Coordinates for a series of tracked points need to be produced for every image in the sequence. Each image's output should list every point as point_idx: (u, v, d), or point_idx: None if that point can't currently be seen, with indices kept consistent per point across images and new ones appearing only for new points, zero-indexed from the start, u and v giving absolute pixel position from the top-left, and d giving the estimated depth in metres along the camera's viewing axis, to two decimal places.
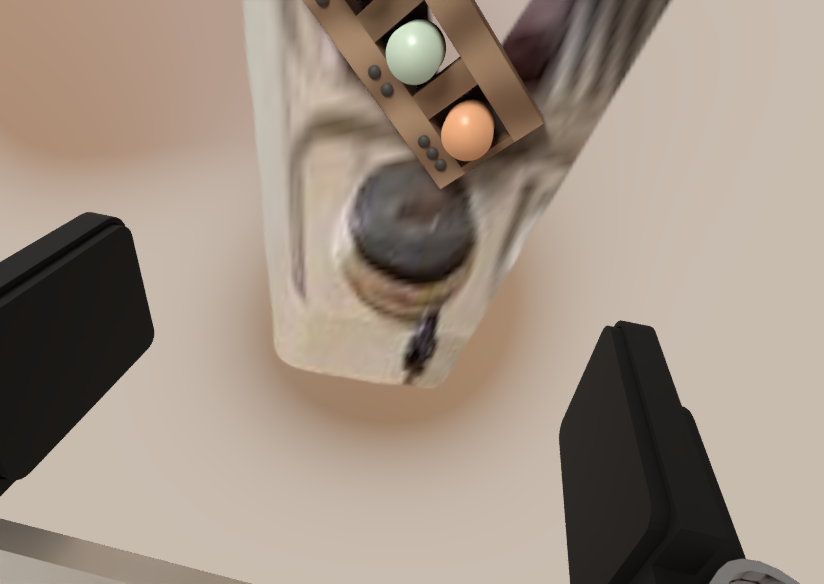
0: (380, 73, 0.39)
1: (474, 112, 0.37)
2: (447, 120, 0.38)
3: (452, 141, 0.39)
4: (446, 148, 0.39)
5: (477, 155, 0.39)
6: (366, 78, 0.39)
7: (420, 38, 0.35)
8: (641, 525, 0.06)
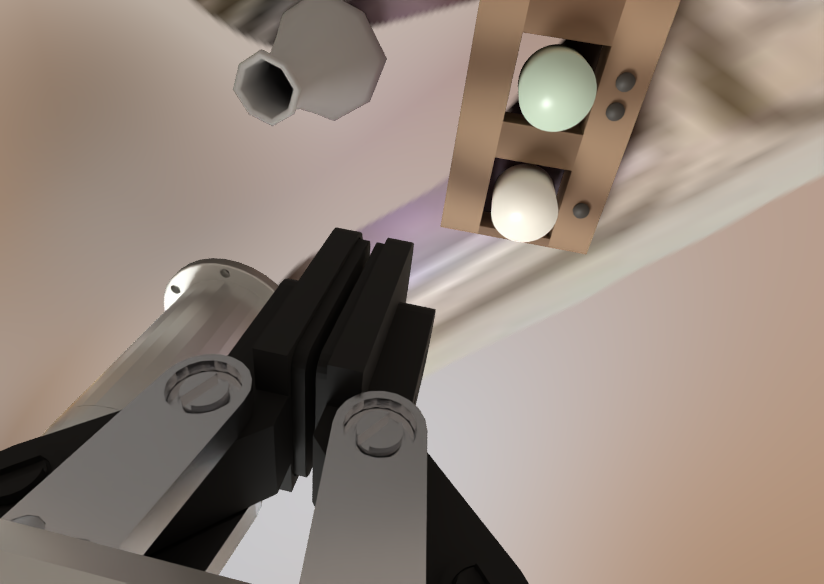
0: (611, 104, 0.28)
1: None
2: None
3: None
4: None
5: None
6: (630, 114, 0.28)
7: (533, 101, 0.27)
8: None
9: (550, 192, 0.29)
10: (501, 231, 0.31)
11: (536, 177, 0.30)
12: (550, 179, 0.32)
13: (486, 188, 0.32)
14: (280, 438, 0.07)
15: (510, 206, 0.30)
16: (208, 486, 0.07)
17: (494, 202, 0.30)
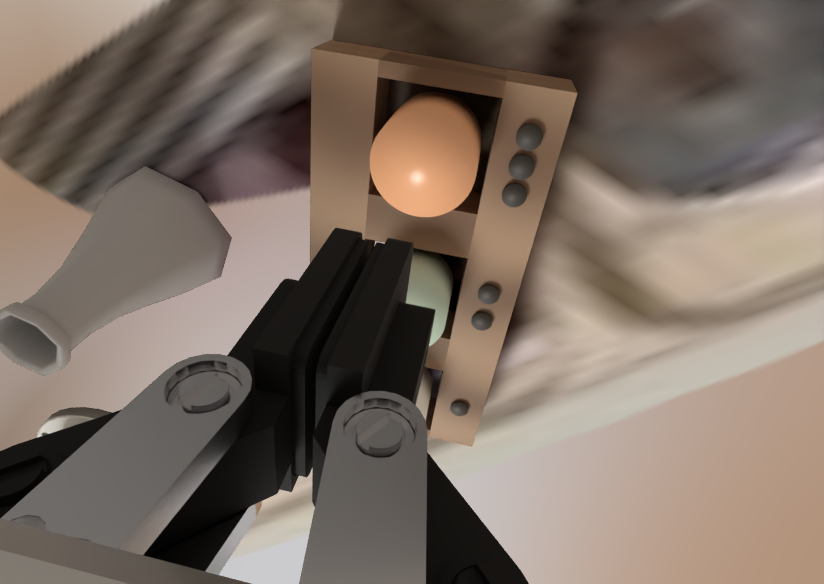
0: (477, 313, 0.24)
1: (380, 189, 0.19)
2: (430, 214, 0.19)
3: (452, 179, 0.18)
4: (472, 178, 0.18)
5: (433, 120, 0.17)
6: (499, 323, 0.24)
7: None
8: None
9: None
10: None
11: None
12: (423, 373, 0.27)
13: None
14: (280, 438, 0.07)
15: None
16: (208, 486, 0.07)
17: None
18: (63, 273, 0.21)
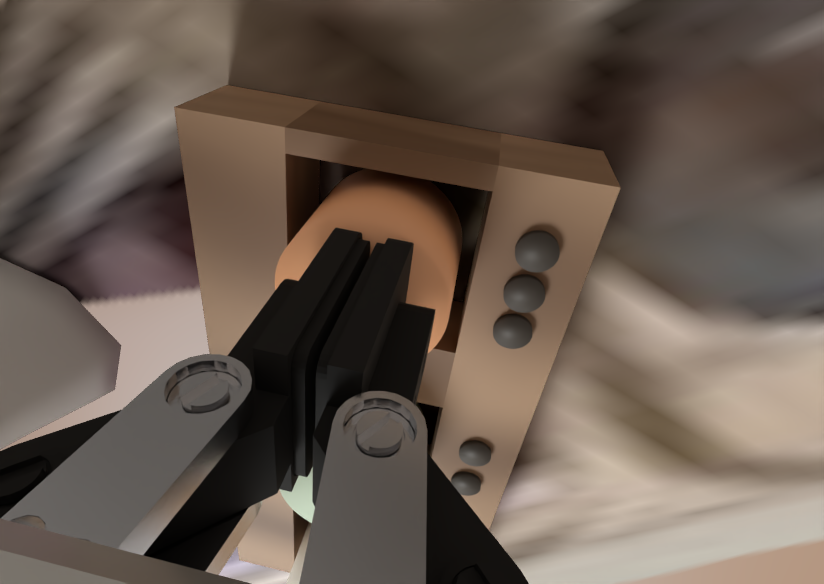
0: (459, 473, 0.17)
1: None
2: None
3: None
4: (442, 321, 0.11)
5: (373, 234, 0.10)
6: (491, 487, 0.17)
7: (306, 499, 0.15)
8: None
9: None
10: None
11: None
12: None
13: (291, 533, 0.20)
14: (280, 438, 0.07)
15: None
16: (208, 486, 0.07)
17: None
18: None
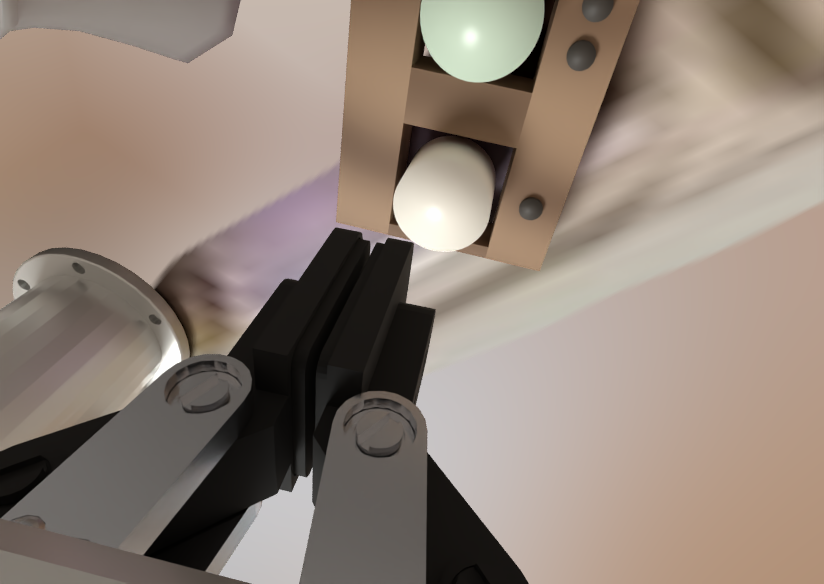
0: (576, 43, 0.18)
1: None
2: None
3: None
4: None
5: None
6: (604, 60, 0.18)
7: (443, 29, 0.17)
8: None
9: (477, 179, 0.19)
10: (410, 234, 0.21)
11: (460, 156, 0.20)
12: (487, 160, 0.21)
13: (394, 169, 0.22)
14: (280, 438, 0.07)
15: (419, 197, 0.20)
16: (208, 486, 0.07)
17: (396, 191, 0.20)
18: None
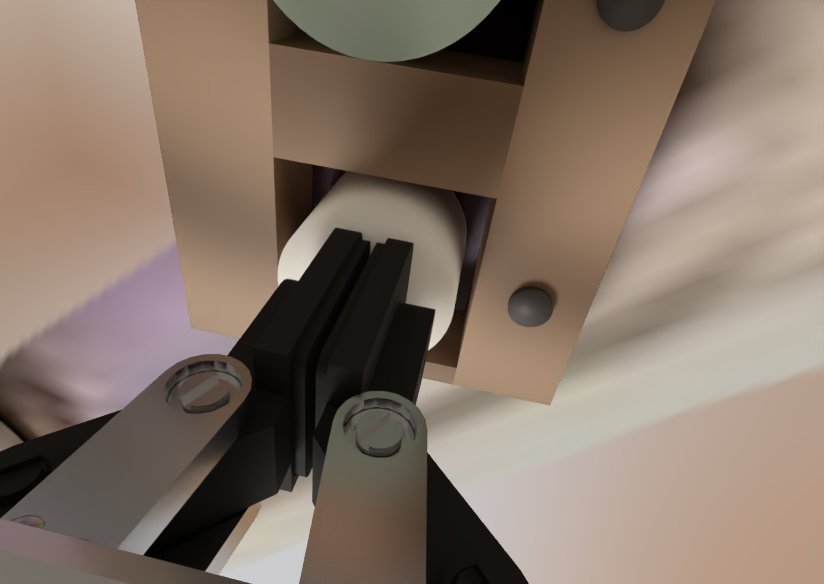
0: None
1: None
2: None
3: None
4: None
5: None
6: (685, 3, 0.08)
7: None
8: None
9: (426, 243, 0.10)
10: None
11: (394, 197, 0.11)
12: (448, 199, 0.12)
13: (273, 242, 0.12)
14: (280, 438, 0.07)
15: None
16: (208, 486, 0.07)
17: (281, 266, 0.11)
18: None
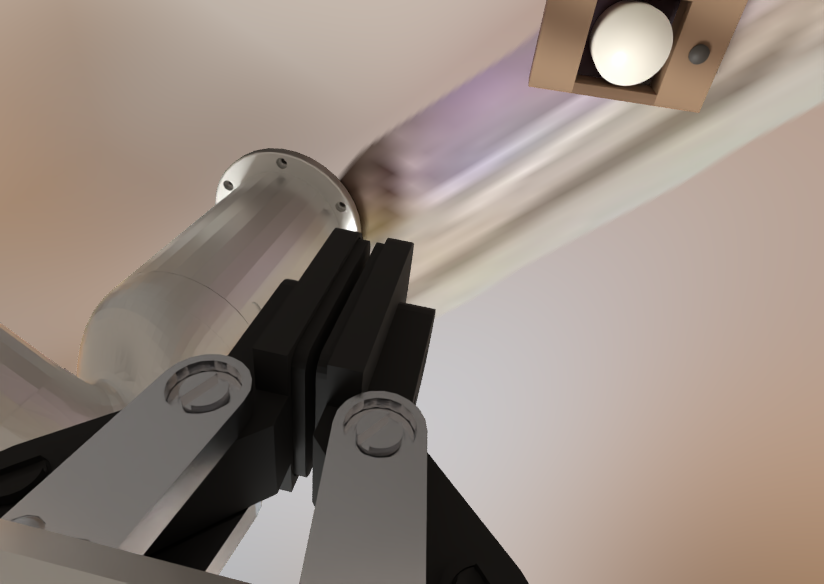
0: None
1: None
2: None
3: None
4: None
5: None
6: None
7: None
8: None
9: (665, 18, 0.26)
10: (603, 73, 0.28)
11: (648, 4, 0.27)
12: None
13: (586, 32, 0.28)
14: (280, 438, 0.07)
15: (616, 39, 0.27)
16: (208, 486, 0.07)
17: (598, 35, 0.27)
18: None
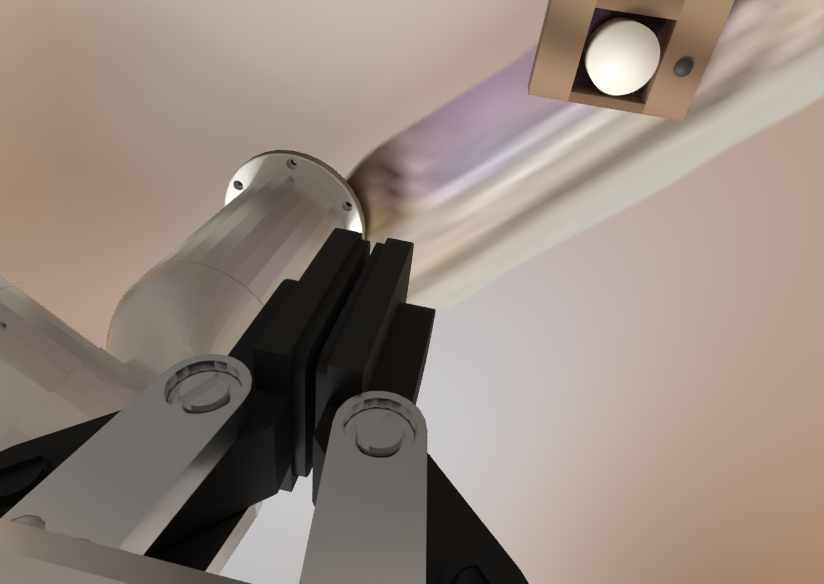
0: None
1: None
2: None
3: None
4: None
5: None
6: None
7: None
8: None
9: (653, 34, 0.29)
10: (597, 83, 0.31)
11: (637, 22, 0.30)
12: None
13: (582, 46, 0.31)
14: (280, 438, 0.07)
15: (609, 53, 0.30)
16: (208, 486, 0.07)
17: (593, 49, 0.30)
18: None
